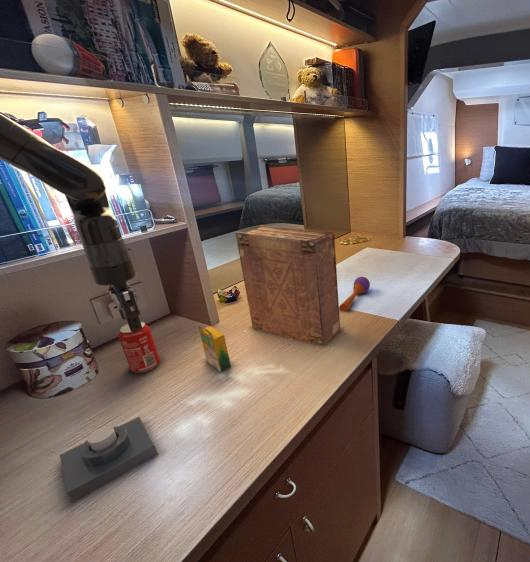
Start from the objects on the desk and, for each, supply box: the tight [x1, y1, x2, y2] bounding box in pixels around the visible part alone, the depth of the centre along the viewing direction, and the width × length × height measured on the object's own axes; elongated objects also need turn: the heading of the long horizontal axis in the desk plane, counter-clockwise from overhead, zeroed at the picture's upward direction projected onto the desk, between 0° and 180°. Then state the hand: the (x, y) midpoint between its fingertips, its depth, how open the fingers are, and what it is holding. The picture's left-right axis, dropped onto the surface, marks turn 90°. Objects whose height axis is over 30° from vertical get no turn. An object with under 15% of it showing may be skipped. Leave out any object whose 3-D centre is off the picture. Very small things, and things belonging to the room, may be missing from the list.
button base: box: [59, 416, 159, 503], centre depth 59 cm, size 12×10×5 cm
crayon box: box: [197, 323, 232, 373], centre depth 84 cm, size 7×3×12 cm, turn 50°
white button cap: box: [87, 425, 117, 452], centre depth 58 cm, size 4×4×2 cm
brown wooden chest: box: [235, 224, 341, 347], centre depth 95 cm, size 25×9×30 cm, turn 66°
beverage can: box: [118, 320, 161, 374], centre depth 83 cm, size 6×6×12 cm
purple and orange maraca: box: [339, 276, 371, 312], centre depth 119 cm, size 6×6×20 cm
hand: (132, 324), depth 81 cm, fingers open, 8 cm apart
